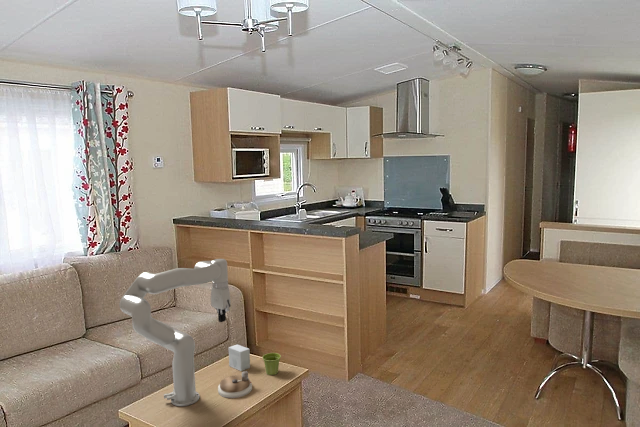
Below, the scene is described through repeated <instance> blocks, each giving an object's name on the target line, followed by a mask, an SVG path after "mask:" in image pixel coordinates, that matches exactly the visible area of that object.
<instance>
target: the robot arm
mask: <svg viewBox="0 0 640 427" xmlns="http://www.w3.org/2000/svg"><path fill="white" fill-rule="evenodd" d="M228 274H229V273H228V262H227V260H226V259H225V258H216V259H213V260H201V261H198V262H197V263H196V264H195V265H194V268H186V267H177V268H173V269H172V268H171V269H170V270H165V271H162V272H161V271H160V272H157V273H153V272H147V271H146V272H145V271H144V272H142V273H141V274H139V275H138V276H137V277H136V278H135V280H134V281H133V282H132V283H131V285H130V286H129V287H128V288H127V290H126V291H125V292H124V294H123V295H122V297H121V298H120V300H119V310H121V312H122V313H123V314H126V315H128V316H130V317H131V322H132V323H131V324H132V329H133V330H134V332H135V333H136V334H137V335H139V336H141V337H143V338H145V339H146V340H147V341H149V342H151V343H153V344H156V345H159V346H160V347H162V348H164V349H166V350H169V351H171V352H173V357H172V358H173V359H172V362H171V363H172V364H171V365H172V366H171V367H172V380H173V381H172V382H173V389H172V391H170V393H163V399H166V401H169V400H170V402H171V404H172V405H174V406H175V407H187V406H191V405H193V404H195V403H197V402H198V401H199V399H200V393H199V392H198V391H196V390H197V389H196V374H195V373H196V372H195V359H194V358H195V349H196V342H195V341H196V340H195V339H194V337H193V336H192V335H190V334H189V333H187V332H184V331H181V330H179V329H177V328H175V327H173V326H171V325H169V324H168V323H166V322H163V320H159V319H156V318H154V317H153V316H152V308H151V304H150V302H149V301H148V300H147V299H146V298H145V297H146V295H147V294H150V295H158V294H161V293H165V292H168V291H171V290H174V289H178V288H181V287H191V286H196V285H203V284H207V283H210V282H211V283H212V287H211V289H210V306H211V307H212V308H214V309H216V313H217V317H218V318H217V319H218V322H219V323H223V322H225V321H227V320H226V319H227V315H226V314H227V313H228V312H230V308H231V304H232V301H231V300H232V299H231V292H230V288H229V275H228Z"/></svg>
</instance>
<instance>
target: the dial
mask: <svg viewBox="0 0 640 427" xmlns="http://www.w3.org/2000/svg"><path fill="white" fill-rule="evenodd" d="M250 381H251V380H250V378H249V372H248V371H247V370H243V371H241V375H240V374H237V375H236V374H235V375H230V376H227V377H226V376H225V377H224V378H223V379H221V381H220V383H219V384H220V388H221V390H223V391H225V392H239V391H242V390H244V389H246V388H248V387H249V385H250Z"/></svg>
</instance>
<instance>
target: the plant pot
mask: <svg viewBox="0 0 640 427" xmlns="http://www.w3.org/2000/svg"><path fill="white" fill-rule="evenodd" d="M281 357H282V355H281V354H280V353H278V352H270V353H269V352H268V353H266V354H264V355H262V358H261V359H262V361H263V362H264V368H265V373H266V375H268V376H275V375H277V374H278V373H279V367H280V366H279V365H280V360H281Z"/></svg>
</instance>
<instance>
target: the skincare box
mask: <svg viewBox="0 0 640 427" xmlns="http://www.w3.org/2000/svg"><path fill="white" fill-rule="evenodd" d="M250 358H251V353H250V348H248V347H245V346H243V345H240V344H235V345H231V346H228V367H230V368H233V369H235V370H238V371H240V372H243V371H246V370H247V369H250V368H251V359H250Z"/></svg>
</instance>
